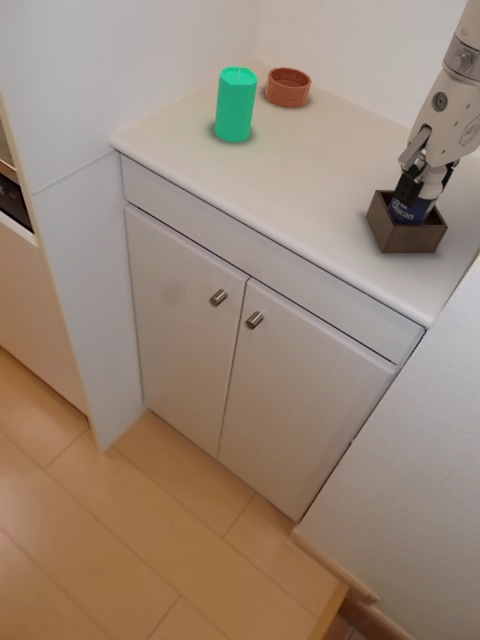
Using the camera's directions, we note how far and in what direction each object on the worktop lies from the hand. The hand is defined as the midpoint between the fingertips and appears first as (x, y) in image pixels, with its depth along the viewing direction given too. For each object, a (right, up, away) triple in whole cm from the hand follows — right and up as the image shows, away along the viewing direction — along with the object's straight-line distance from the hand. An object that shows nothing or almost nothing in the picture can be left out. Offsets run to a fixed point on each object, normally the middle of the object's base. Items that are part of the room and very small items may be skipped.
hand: (417, 194), depth 71 cm
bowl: (-15, +25, +29) cm, 41 cm away
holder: (-1, -5, +6) cm, 8 cm away
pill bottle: (-1, -3, +4) cm, 5 cm away
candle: (-25, +14, +18) cm, 34 cm away
